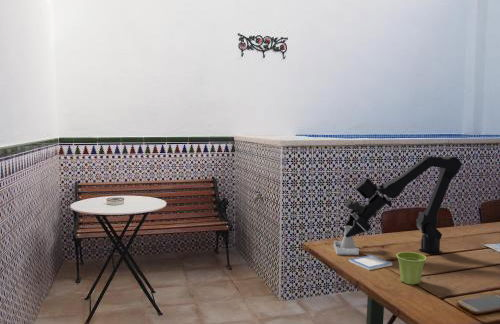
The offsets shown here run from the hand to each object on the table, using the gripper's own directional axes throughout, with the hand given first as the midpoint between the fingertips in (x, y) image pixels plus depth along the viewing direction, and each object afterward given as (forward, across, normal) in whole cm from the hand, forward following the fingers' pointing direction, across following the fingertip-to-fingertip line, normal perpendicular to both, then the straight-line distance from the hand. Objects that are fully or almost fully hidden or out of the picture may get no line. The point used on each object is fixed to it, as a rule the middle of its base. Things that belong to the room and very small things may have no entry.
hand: (344, 233), depth 189 cm
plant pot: (-7, +34, +17) cm, 39 cm away
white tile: (0, +16, +10) cm, 19 cm away
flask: (+4, 0, +6) cm, 7 cm away
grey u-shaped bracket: (+4, 0, +6) cm, 7 cm away
